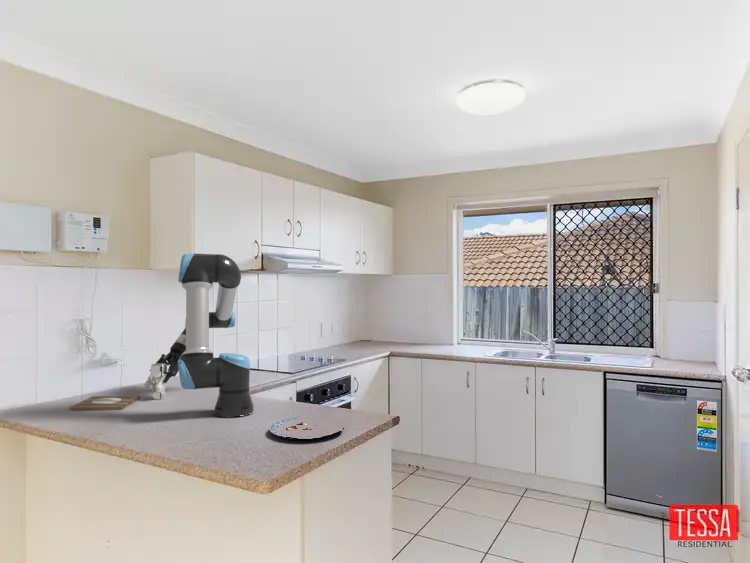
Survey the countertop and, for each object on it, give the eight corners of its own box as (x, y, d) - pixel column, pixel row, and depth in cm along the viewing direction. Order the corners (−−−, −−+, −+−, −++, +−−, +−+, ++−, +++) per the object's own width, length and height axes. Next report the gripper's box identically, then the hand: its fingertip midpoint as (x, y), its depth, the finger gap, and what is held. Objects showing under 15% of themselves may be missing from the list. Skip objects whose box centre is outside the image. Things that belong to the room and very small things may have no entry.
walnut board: (121, 409, 203) (121, 405, 203) (69, 410, 202) (69, 406, 202) (139, 398, 223) (140, 395, 223) (92, 399, 221) (92, 395, 221)
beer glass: (170, 397, 226) (170, 363, 227) (159, 400, 220) (160, 366, 220) (157, 396, 228) (157, 363, 228) (146, 399, 222) (146, 365, 222)
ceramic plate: (315, 449, 157) (315, 439, 157) (253, 436, 170) (253, 427, 170) (358, 429, 179) (358, 420, 179) (300, 419, 192) (300, 411, 192)
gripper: (201, 352, 233) (173, 394, 219) (171, 350, 242) (141, 390, 228) (193, 342, 229) (163, 384, 214) (162, 340, 238) (131, 380, 223)
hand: (152, 387), depth 221 cm, fingers closed on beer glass, 7 cm apart
